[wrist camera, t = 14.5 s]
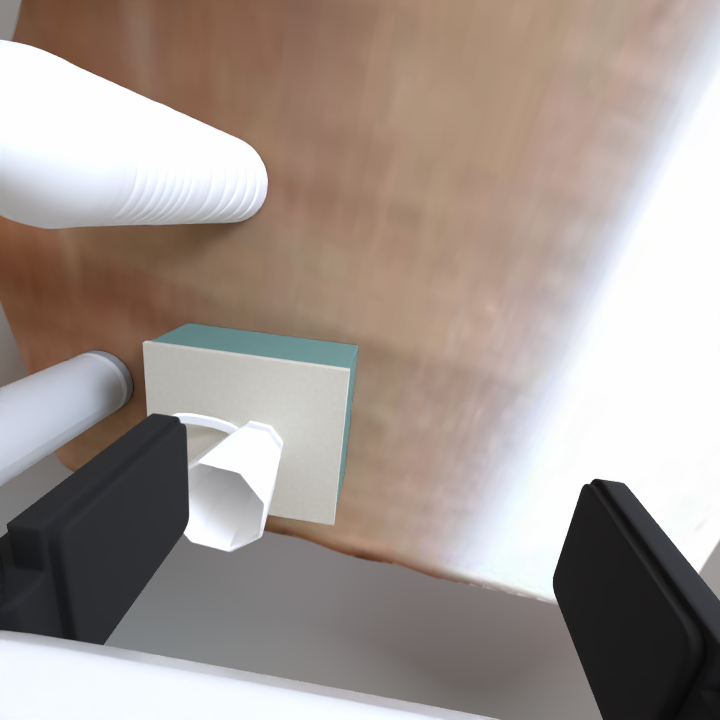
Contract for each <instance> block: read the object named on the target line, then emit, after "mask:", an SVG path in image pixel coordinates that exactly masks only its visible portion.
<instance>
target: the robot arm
mask: <svg viewBox="0 0 720 720" xmlns="http://www.w3.org/2000/svg"><path fill="white" fill-rule="evenodd" d="M188 521H189V486H188V454H187V428H186V425H185V424H183V423H181V421H180V419H179V418H178V417H177V416H170V415H164V414H157V413H153V414H151V415H149V416H148V417H147V418H145V419H144V420H143V421H141V422H140V423H139V424H137V425H136V426H135V427H133V428H132V429H131V430H130V431H128V432H127V433H126V434H124V435H123V436H122V437H120V438H119V439H118V440H116V441H115V442H114V443H113V444H111V445H110V446H109V447H107V448H106V449H105V450H103V451H102V452H101V453H99V454H98V455H97V456H95V457H94V458H93V459H92V460H90V461H89V462H88V463H86V464H85V465H84V466H82V467H81V468H80V469H78V470H77V471H76V472H75V473H73V474H72V475H71V476H69V477H68V478H67V479H65V480H64V481H63V482H61V483H60V484H59V485H57V486H56V487H55V488H54V489H52V490H51V491H50V492H48V493H47V494H46V495H44V496H43V497H42V498H40V499H39V500H38V501H37V502H35V503H34V504H33V505H31V506H30V507H29V508H28V509H26V510H25V511H23V512H22V513H21V514H20V515H18V516H17V517H16V518H14V519H13V520H12V521H10V522H9V523H8V524H7V529H8V532H7V533H6V534H5V535H4V536H2V537H1V538H0V720H500V719H495V718H490V717H485V716H480V715H474V714H469V713H464V712H459V711H454V710H449V709H444V708H439V707H433V706H428V705H423V704H418V703H412V702H407V701H402V700H396V699H391V698H386V697H381V696H376V695H370V694H365V693H360V692H354V691H350V690H344V689H339V688H333V687H328V686H323V685H318V684H312V683H307V682H302V681H296V680H291V679H286V678H280V677H275V676H270V675H264V674H259V673H253V672H248V671H242V670H237V669H232V668H226V667H221V666H215V665H210V664H204V663H199V662H193V661H188V660H182V659H177V658H171V657H166V656H161V655H155V654H150V653H144V652H139V651H133V650H128V649H122V648H117V647H110V646H104V643H105V642H106V640H107V639H108V638H109V636H110V635H111V633H112V632H113V631H114V629H115V628H116V626H117V625H118V624H119V622H120V621H121V619H122V618H123V617H124V615H125V614H126V612H127V611H128V610H129V608H130V607H131V605H132V604H133V602H134V601H135V600H136V598H137V597H138V595H139V594H140V593H141V591H142V590H143V589H144V587H145V586H146V584H147V583H148V582H149V580H150V579H151V578H152V576H153V575H154V573H155V572H156V571H157V569H158V568H159V566H160V565H161V564H162V562H163V561H164V559H165V558H166V556H167V555H168V554H169V552H170V551H171V550H172V548H173V547H174V545H175V544H176V543H177V541H178V540H179V538H180V537H181V536H182V534H183V533H184V531H185V529H186V527H187V525H188ZM553 589H554V593H555V596H556V599H557V602H558V604H559V607H560V609H561V612H562V614H563V617H564V620H565V622H566V625H567V627H568V630H569V632H570V635H571V637H572V640H573V643H574V646H575V648H576V651H577V653H578V656H579V659H580V661H581V663H582V666H583V669H584V671H585V674H586V677H587V679H588V682H589V684H590V687H591V690H592V692H593V695H594V697H595V700H596V702H597V705H598V708H599V710H600V713H601V715H602V718H603V720H720V601H719V600H718V598H717V597H716V596H715V594H714V593H713V592H712V591H711V589H710V588H709V587H708V586H707V584H706V583H705V582H704V581H703V579H702V578H701V577H700V576H699V575H698V573H697V572H696V571H695V570H694V568H693V567H692V566H691V565H690V563H689V562H688V561H687V560H686V558H685V557H684V556H683V555H682V554H681V552H680V551H679V550H678V549H677V547H676V546H675V545H674V544H673V542H672V541H671V540H670V539H669V537H668V536H667V535H666V534H665V533H664V531H663V530H662V529H661V528H660V526H659V525H658V524H657V523H656V521H655V520H654V519H653V518H652V516H651V515H650V514H649V513H648V512H647V510H646V509H645V508H644V507H643V505H642V504H641V503H640V502H639V500H638V499H637V498H636V497H635V495H634V494H633V493H632V492H631V491H630V489H629V488H628V487H627V486H626V485H625V484H624V483H621V482H614V481H607V480H601V479H594V480H593V481H592V482H591V483H590V484H585V485H584V486H583V487H582V490H581V493H580V496H579V499H578V502H577V505H576V508H575V511H574V514H573V517H572V520H571V523H570V526H569V530H568V533H567V536H566V539H565V542H564V545H563V548H562V551H561V554H560V557H559V560H558V563H557V567H556V570H555V573H554V576H553Z"/></svg>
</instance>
